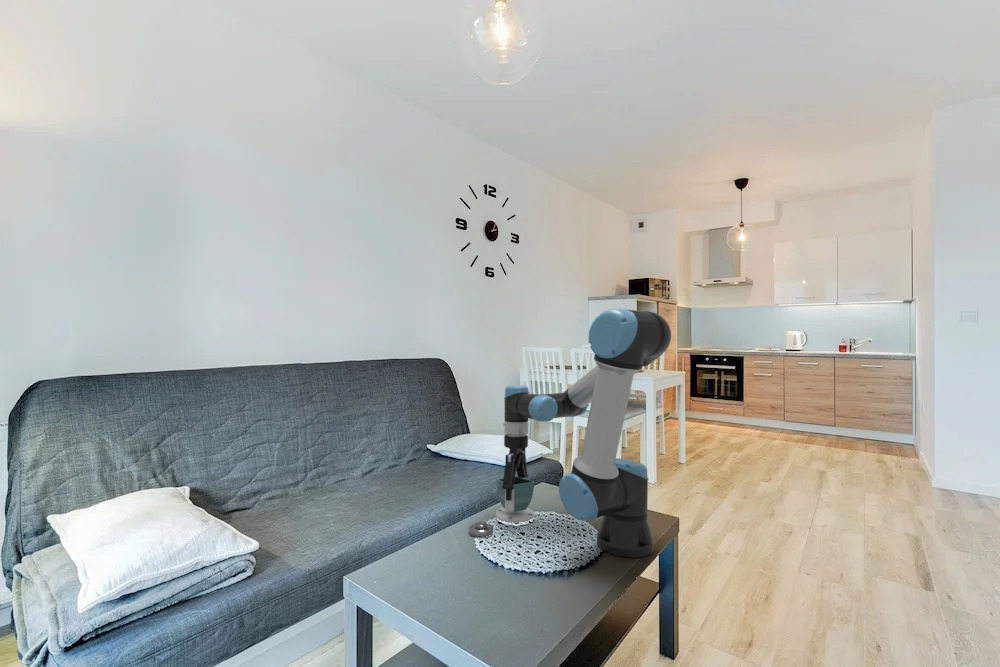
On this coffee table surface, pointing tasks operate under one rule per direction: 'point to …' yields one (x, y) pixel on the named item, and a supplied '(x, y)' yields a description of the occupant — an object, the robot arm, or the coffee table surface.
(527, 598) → the coffee table surface
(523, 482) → the flower pot
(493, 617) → the coffee table surface
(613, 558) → the coffee table surface
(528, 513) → the grey flange
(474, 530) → the small metal flange
